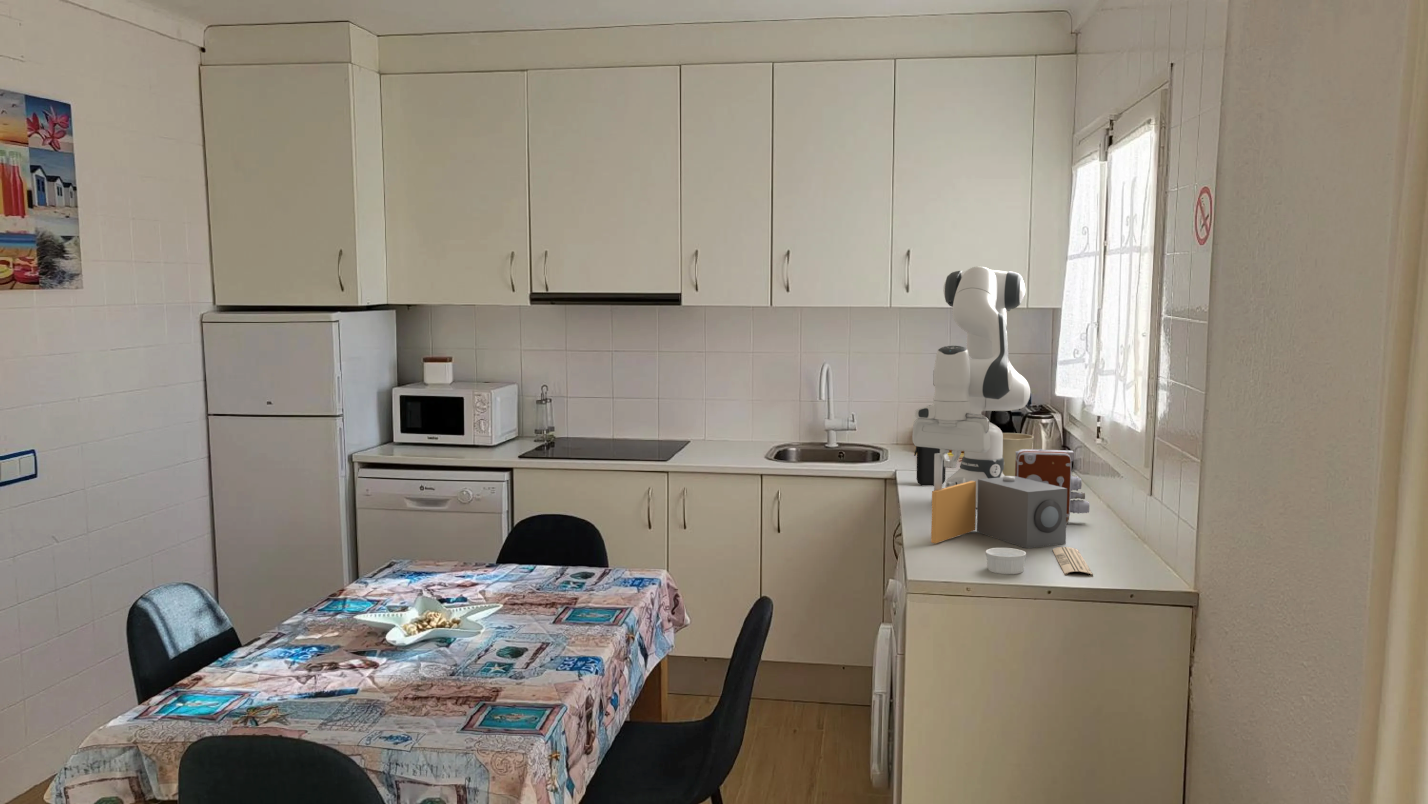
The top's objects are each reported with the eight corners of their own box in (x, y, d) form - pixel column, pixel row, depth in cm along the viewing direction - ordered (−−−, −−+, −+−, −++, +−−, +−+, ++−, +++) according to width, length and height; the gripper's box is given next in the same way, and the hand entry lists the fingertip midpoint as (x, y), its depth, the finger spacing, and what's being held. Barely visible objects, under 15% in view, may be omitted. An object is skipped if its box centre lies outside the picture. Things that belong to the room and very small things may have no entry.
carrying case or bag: (915, 486, 348) (916, 441, 347) (912, 485, 351) (912, 440, 350) (946, 485, 350) (947, 441, 348) (943, 484, 353) (944, 439, 351)
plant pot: (976, 483, 354) (977, 435, 352) (1002, 478, 364) (1003, 431, 362) (1015, 489, 343) (1016, 439, 341) (1041, 483, 352) (1042, 435, 351)
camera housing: (976, 531, 281) (978, 475, 280) (1014, 527, 286) (1015, 472, 284) (1029, 549, 262) (1031, 488, 260) (1068, 544, 266) (1070, 485, 265)
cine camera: (1090, 527, 286) (1093, 453, 285) (1015, 524, 290) (1017, 451, 288) (1086, 520, 295) (1088, 448, 293) (1013, 517, 299) (1014, 446, 297)
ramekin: (982, 573, 240) (983, 554, 239) (987, 564, 248) (987, 545, 247) (1024, 577, 236) (1024, 557, 236) (1027, 567, 245) (1027, 548, 244)
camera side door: (968, 528, 283) (970, 446, 281) (976, 529, 281) (978, 446, 279) (927, 541, 268) (928, 454, 265) (935, 543, 266) (936, 455, 264)
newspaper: (1093, 579, 236) (1093, 571, 236) (1059, 577, 238) (1059, 569, 238) (1078, 554, 259) (1078, 547, 259) (1047, 553, 261) (1048, 545, 261)
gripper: (995, 414, 259) (994, 470, 261) (923, 408, 273) (922, 462, 275) (982, 415, 255) (981, 473, 256) (909, 410, 269) (908, 464, 270)
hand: (950, 467), depth 265 cm, fingers closed
